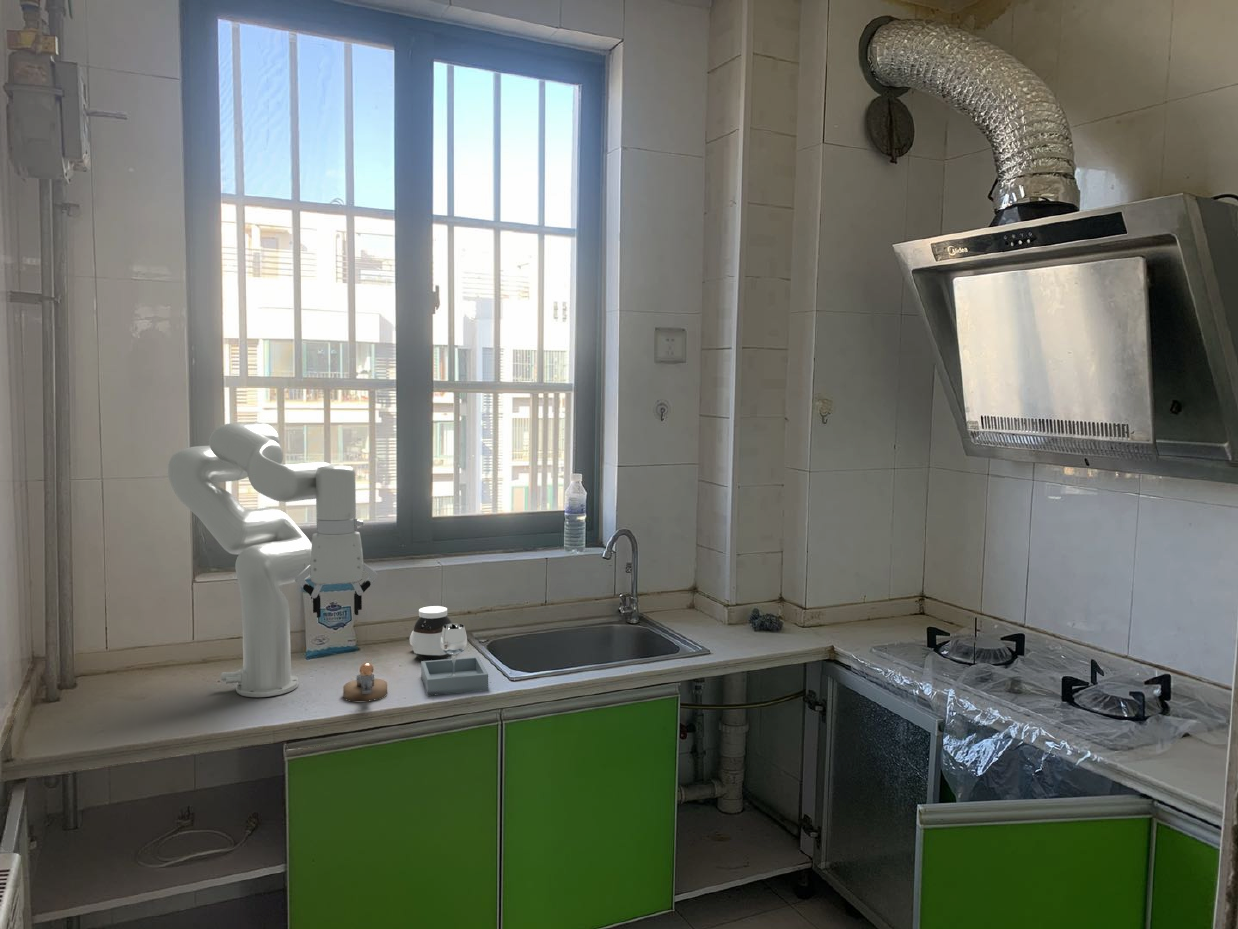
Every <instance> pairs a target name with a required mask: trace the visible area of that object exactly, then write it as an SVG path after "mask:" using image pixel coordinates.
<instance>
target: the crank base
mask: <svg viewBox="0 0 1238 929" xmlns="http://www.w3.org/2000/svg"><path fill="white" fill-rule="evenodd" d="M342 688H343V693H342V694H343V699H344V700H346V699H347V700H346V701H348V700H350V701H349V702H352V701H369V700H374V699H378V700H381V699H383V698H385V697H386V696H387V695H388V682H387V681H386V680H384V679H380V678H374V685H373V686H372V689H371V693H368V694H362V690H361V687H358V686H357V679H355V680H352V681H348V682H347V683H345V684H344V685H343V687H342ZM386 694H387V695H386ZM385 695H386V696H385ZM384 696H385V697H384ZM382 697H383V698H382ZM380 698H381V699H380ZM374 701H375V700H374ZM369 702H370V701H369Z"/></svg>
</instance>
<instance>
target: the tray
mask: <svg viewBox="0 0 1238 929" xmlns="http://www.w3.org/2000/svg"><path fill="white" fill-rule="evenodd" d="M451 659H452V658H447V659H446V658H444V659H440V660H423V661H422V660H421V661H420V665H421V666H420V668H421V669H420V672H421V675H420V676H421V680H422V683H423V687H424V689H425V692H426V695H431V696H436V695H435V694H441V695H446V694H445V693H451V694H461V693H468V692H469V693H470V692H481V691H480V690H482V691H488V690H489V673H488V671H487V669H486V668H485V665H484V664H483V662H482V660H481V659H480V656H469V657H458V658H457V657H456V662H455V674H456V675H458V676H451V675H452V673H453V664H452V660H451ZM447 676H450V677H447Z"/></svg>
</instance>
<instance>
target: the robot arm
mask: <svg viewBox="0 0 1238 929" xmlns="http://www.w3.org/2000/svg"><path fill="white" fill-rule="evenodd" d="M280 441H281V440H280V436H279V433H278V432H277V431H276V429H275V428H274V427H273V426H272V425H270V424H268V423H266V422H240V423H239V422H231V423H225V424H222V425H220V426H218V427H217V428H215V429H214V430H213V431H212V433H211V434H210V436H209V439H208V445H197V446H190V447H187V448H182V449H180V450H178V451H176V452H175V453H174V454H172V456H171V457H170V459H169V460H168V464H167V465H168V467H167V474H168V479H169V483H170V486H171V488H172V490H173V492H174V494H175V496H176V497H177V498H178V499H179V501H180V502H181V503H182V504H183V505H184V506H185V507H187V509H188V510H190V512H192V513H193V514H194V515H195V516H196V517H197V518H198V519H199V520H200V521H201V522H202V524H203V525H204V527H206V529H207V531H209V532H210V534H211V535H212V537H213V538H214V539H215V540H216V542H217V543H218V544H219V545H220V546H221V547H222V549H223V550H224V551H225V552H227V553H229V554H231V555H238V556H237V558H236V561H235V565H234V566H235V567H234V568H235V573H236V580H237V582H238V587H239V592H240V593H239V594H240V602H241V621H242V626H241V627H242V659H243V661H242V668H241V669H237V670H236V671H227V672H226V671H225V672H223V671H222V672H221V673H220V674H221V675H220V681H221V682H222V683H223V682H225V684H235V683H236V686H235V691H236V693H237V694H238V695H240V696H242V697H247V698H266V697H267V698H268V697H269V698H270V697H275V696H280V695H284V694H287V693H289V692H291V691H293V690H295V689H297V688H298V687H299V683H300V682H299V678H298V677H297V676H296V675H293V674H292V668H291V667H292V663H291V662H292V660H291V619H290V618H291V616H290V615H291V614H290V613H291V612H290V605H289V601H288V599H287V597H286V596H285V594H284V593H283V592H282V590H281V589H280V587H281V586H284V585H287V584H288V585H289V584H292V583H297V585H298V586H300V588H302V589H303V591H305V592H306V593H307V594H308V595H309V596H311V598H312V613H313V614H314V613H315V614H316V618H321V614H322V613H321V603H322V602H321V595H320V592H321V590H322V587H323V586H324V585H343V584H351V585H352V586H353V589H354V594H353V606H354V607H353V610H354V615H355V616H359V611H361V610H362V609H363V608H362V607H363V605H362V604H363V601H362V599H363V598H362V596H363V595H364V593H365V591H367V590H368V589H369V588H370V586H372V584H373V583H374V582H375V581H376V580H377V579H378V578H379V574H378V573H377V571H375V570H374V569H372V568H371V567H370V566H369V565H368V564H366V563H365V562H364V554H363V543H362V539H361V538H362V537H361V533H360V532H359V531H357V530H358V529H360V528H364V520H360V519H358V518H356V517H357V514H356V512H357V508H356V507H357V502H356V501H357V499H356V498H357V495H356V493H357V492H356V490H357V489H356V472H355V469H354V468H353V467H352V466H349V465H343V464H332V463H329V462H325V461H313V462H310V461H309V462H297V463H294V462H293V463H287V464H286V463H285V464H283V460H284V452H283V449H282V448H283V447H281V443H280ZM246 478H248V481H249V483H250V485H251V486H252V488H253V489H254V490H255V492H258V493H259V494H261V495H263V496H265V497H267V498H269V499H271V500H274V501H277V502H281V503H282V502H283V503H290V502H298V501H305V500H306V501H307V500H316V501H315V502H316V503H315V505H316V506H315V507H316V508H315V509H316V510H315V511H316V512H315V513H316V532H315V533H312V536H311V537H312V538H311V540H310V539H309V537H308V536H307V535H306V534H305V533H304V532H303V531H302V530H301V529H300V527H299V526H298V525H297V524H296V523H295V521H294V520H293V519H292V518H291V517H290V516H289V515H288V514H287V513H286V512H285V511H283V510H281V509H279V508H276V507H264V508H263V507H262V508H254V509H252V508H246V507H244V506H243V505H242V504H240V502H239V501H238V499H237V498H236V497H235V496H234V495H233V494H232V493H230V492H229V491H228V490H225V489H224V488H222V487H220V486H217V485H216V484H214V483H225V482H227V483H228V482H235V481H240V480H244V479H246ZM364 573H365V574H366V575H368V577H367V578H366V579H365V580H364V581H363V582H362V583H360V582H361V581H362V580H363V579H364ZM307 579H310V581H311V583H313V584H314V585H313V586H312V585H311V584H310V583H309V582H307V581H306V580H307Z"/></svg>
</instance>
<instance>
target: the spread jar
mask: <svg viewBox="0 0 1238 929" xmlns="http://www.w3.org/2000/svg"><path fill="white" fill-rule="evenodd" d="M418 616H419V617H418V618H417V619H416V621H415V624H414V626H413V630H412V631H411V633H410V636H409V644H410V646H412V648H413V649H412V650H413V653H414V655H415V656H416V657H417V658H418V659H421V660H423V661H432V660H444V659H446V658H447V657H448V656H449V655H450V654H447V653H445V652H444V651H443V650H442V648H441V643H440V641H441V633H442V629H443V626H444V625H447V624H453V622H452V620H451V618H450V617H449V616H448V607H444V606H441V605H433V606H432V605H430V606H425V607H421V608H419V609H418Z"/></svg>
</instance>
